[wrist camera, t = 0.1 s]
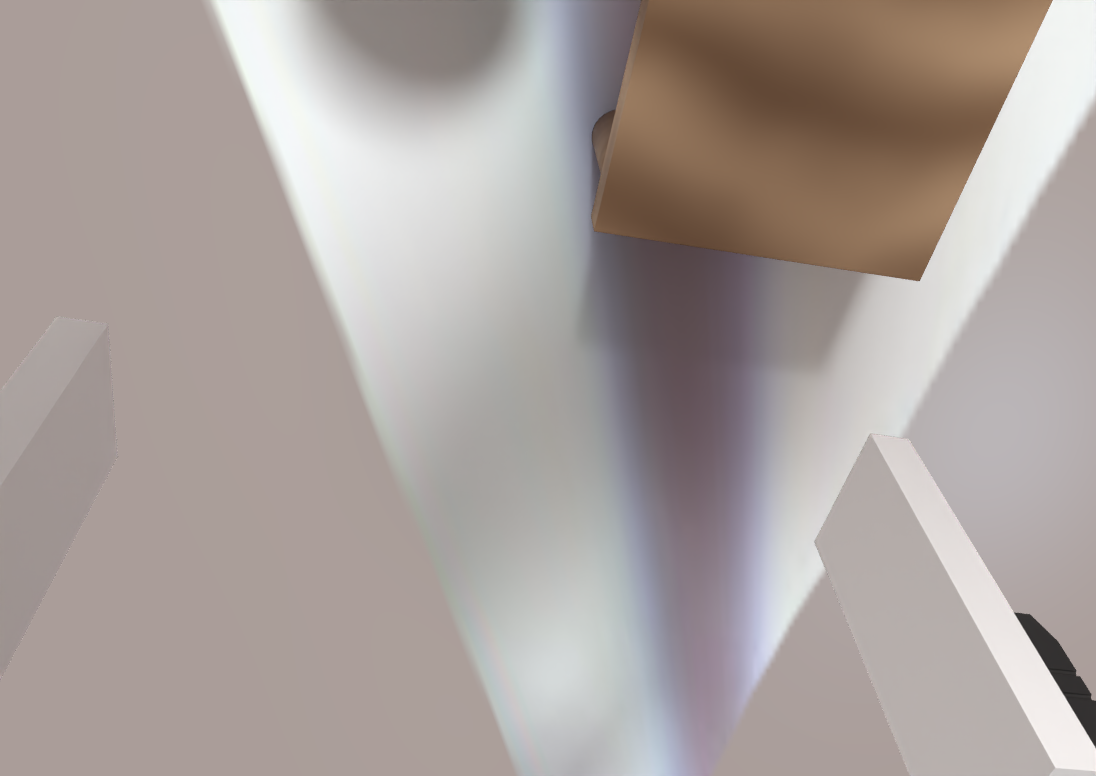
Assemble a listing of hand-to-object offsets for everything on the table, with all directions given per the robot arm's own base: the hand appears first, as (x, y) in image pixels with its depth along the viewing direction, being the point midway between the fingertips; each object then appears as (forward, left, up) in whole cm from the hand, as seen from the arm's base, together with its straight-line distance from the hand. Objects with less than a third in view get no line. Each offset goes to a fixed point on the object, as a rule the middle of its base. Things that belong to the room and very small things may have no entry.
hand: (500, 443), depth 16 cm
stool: (-2, +12, -28) cm, 30 cm away
